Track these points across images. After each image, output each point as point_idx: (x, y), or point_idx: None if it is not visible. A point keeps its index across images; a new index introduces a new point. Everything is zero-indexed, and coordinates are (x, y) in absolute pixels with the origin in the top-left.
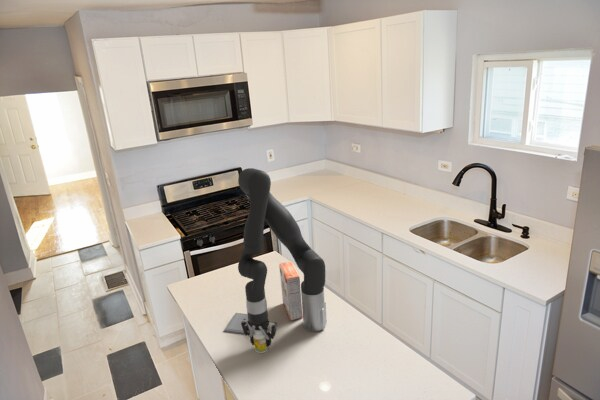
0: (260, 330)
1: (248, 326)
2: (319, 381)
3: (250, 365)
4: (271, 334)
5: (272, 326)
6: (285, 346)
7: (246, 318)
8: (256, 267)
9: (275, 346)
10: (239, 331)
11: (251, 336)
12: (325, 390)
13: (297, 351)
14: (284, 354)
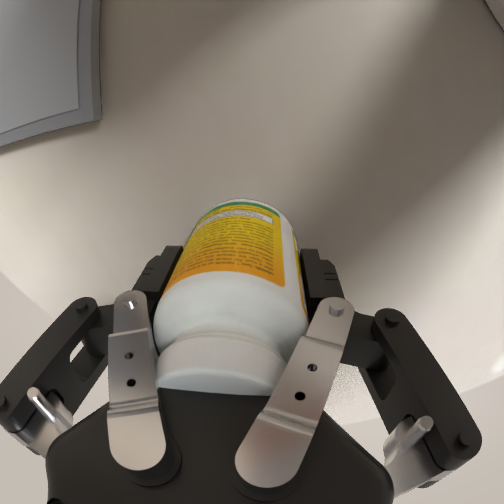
0: None
1: (48, 62)
2: (500, 353)
3: None
4: (379, 395)
5: (419, 486)
6: (413, 197)
7: (17, 4)
8: None
9: (343, 205)
10: (23, 135)
11: (155, 346)
12: (500, 370)
13: (475, 233)
14: (409, 267)
